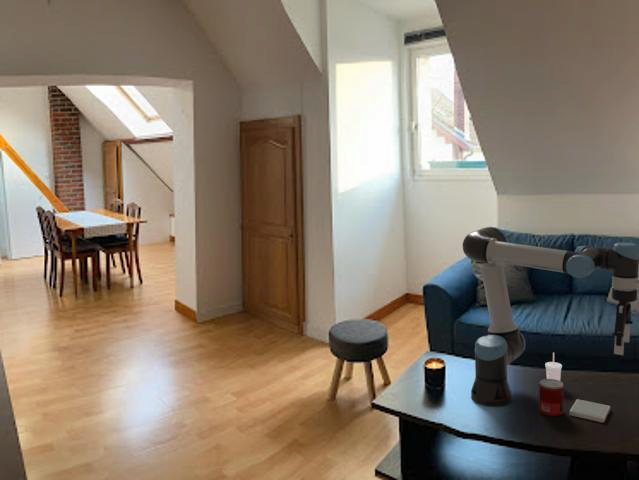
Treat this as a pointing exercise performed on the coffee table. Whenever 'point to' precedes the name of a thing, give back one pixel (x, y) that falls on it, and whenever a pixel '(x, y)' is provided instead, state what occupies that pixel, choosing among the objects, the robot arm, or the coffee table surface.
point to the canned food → (551, 397)
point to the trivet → (590, 410)
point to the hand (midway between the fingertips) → (621, 347)
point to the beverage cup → (553, 370)
